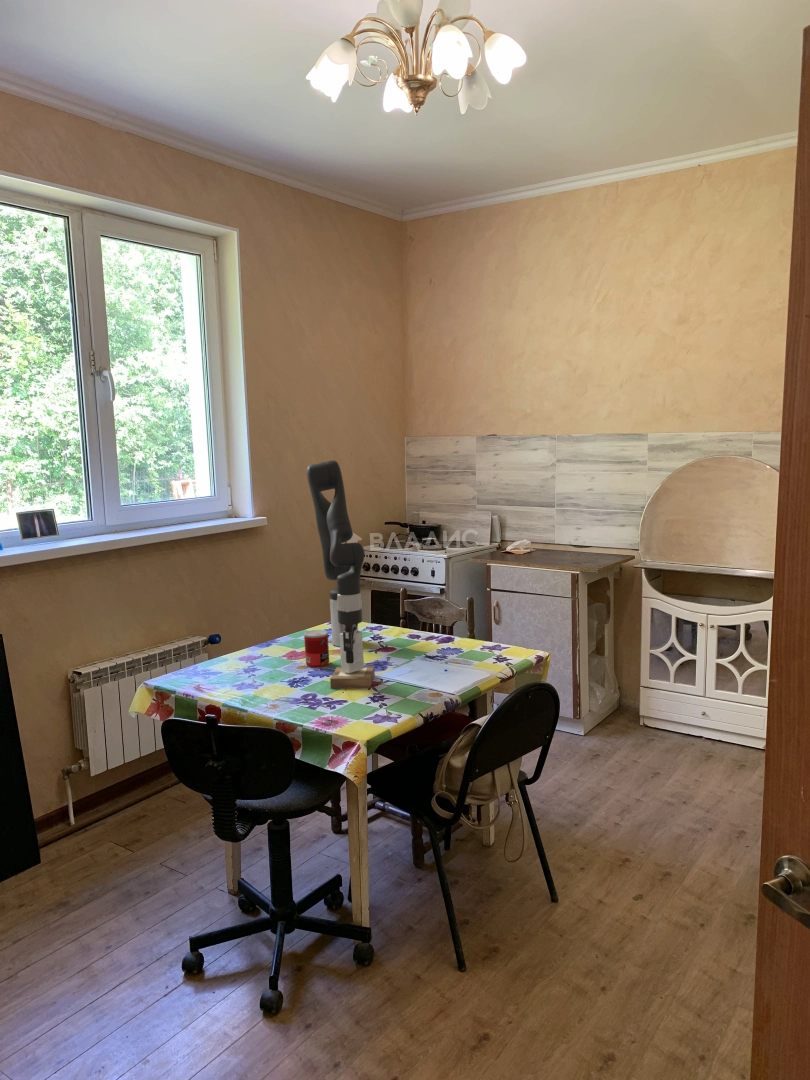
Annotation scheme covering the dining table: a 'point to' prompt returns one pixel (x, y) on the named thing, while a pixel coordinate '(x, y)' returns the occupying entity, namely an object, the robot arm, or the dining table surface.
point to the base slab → (353, 678)
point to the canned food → (316, 648)
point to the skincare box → (357, 654)
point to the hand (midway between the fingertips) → (352, 659)
